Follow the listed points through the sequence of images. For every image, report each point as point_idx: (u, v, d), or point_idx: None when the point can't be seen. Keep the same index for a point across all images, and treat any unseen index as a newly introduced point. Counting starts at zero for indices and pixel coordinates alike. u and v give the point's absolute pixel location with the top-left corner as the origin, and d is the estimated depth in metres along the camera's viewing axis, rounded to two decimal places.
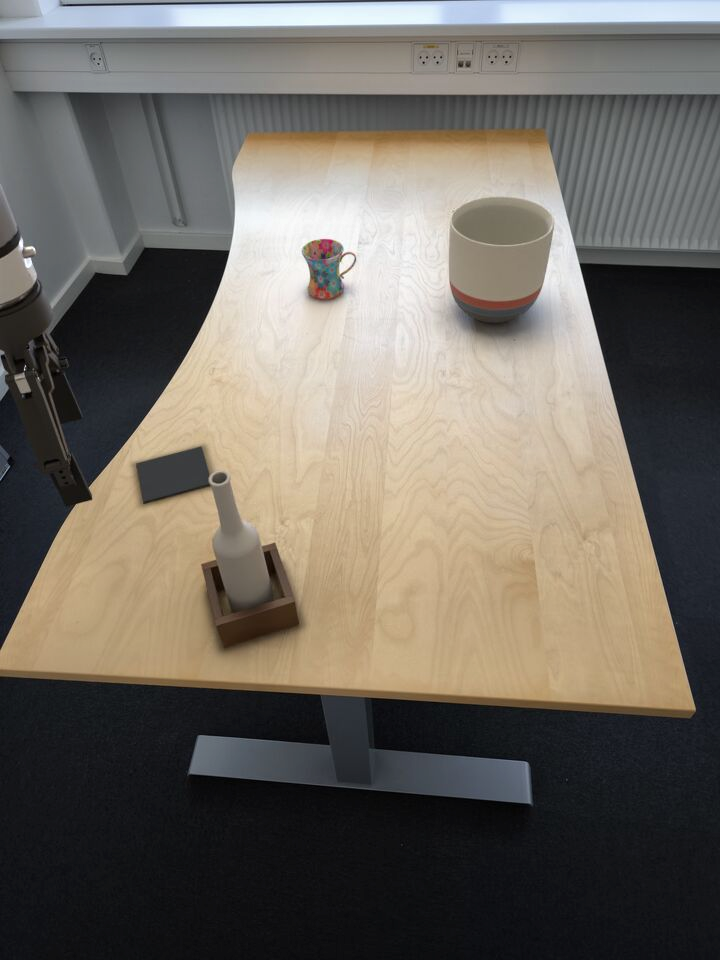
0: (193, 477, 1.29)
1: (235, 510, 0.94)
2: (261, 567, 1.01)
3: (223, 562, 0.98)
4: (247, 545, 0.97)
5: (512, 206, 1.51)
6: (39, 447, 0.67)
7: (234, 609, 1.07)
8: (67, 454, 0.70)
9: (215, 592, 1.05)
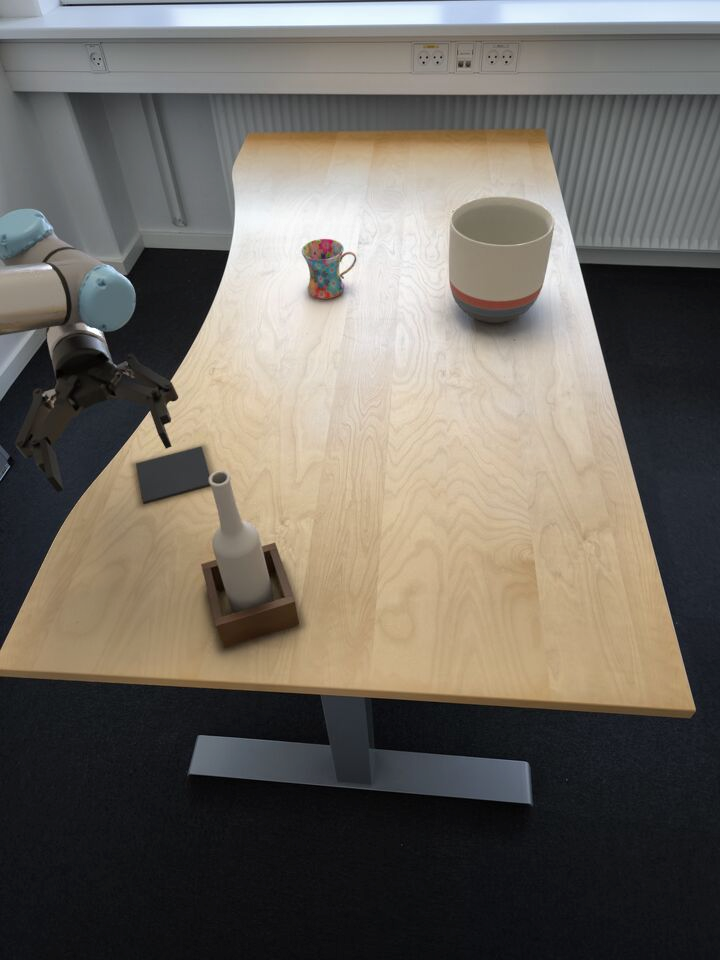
0: (193, 477, 1.29)
1: (235, 510, 0.94)
2: (261, 567, 1.01)
3: (223, 562, 0.98)
4: (247, 545, 0.97)
5: (512, 206, 1.52)
6: None
7: (234, 609, 1.07)
8: None
9: (215, 592, 1.05)
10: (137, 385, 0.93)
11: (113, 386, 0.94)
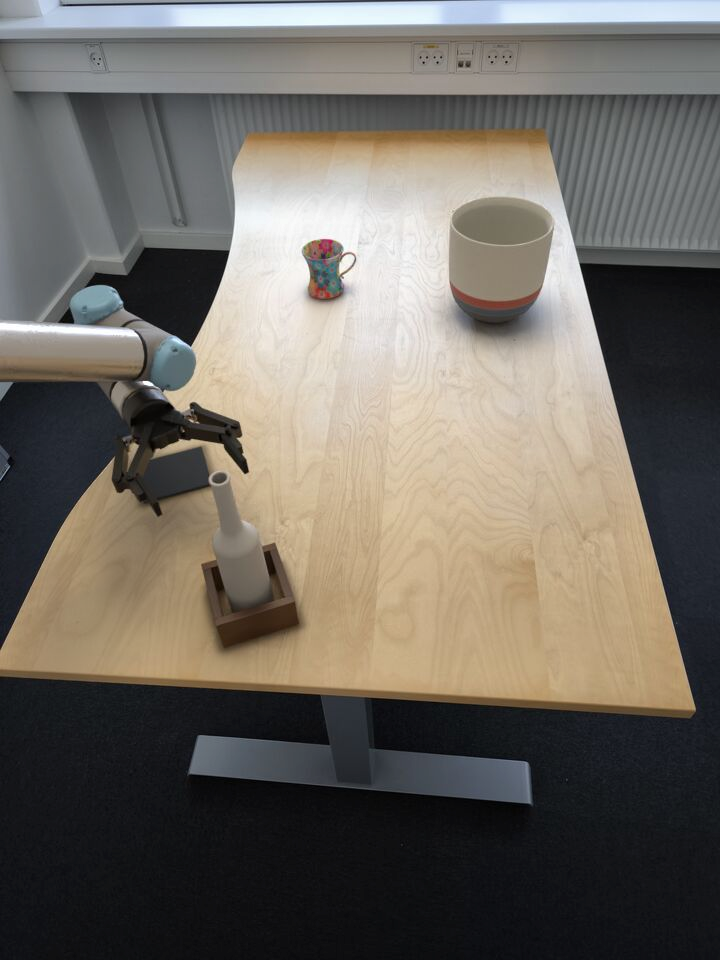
0: (193, 477, 1.29)
1: (235, 510, 0.94)
2: (261, 567, 1.01)
3: (223, 562, 0.98)
4: (247, 545, 0.97)
5: (512, 206, 1.52)
6: None
7: (234, 609, 1.07)
8: None
9: (215, 592, 1.05)
10: (208, 426, 1.10)
11: (186, 429, 1.10)
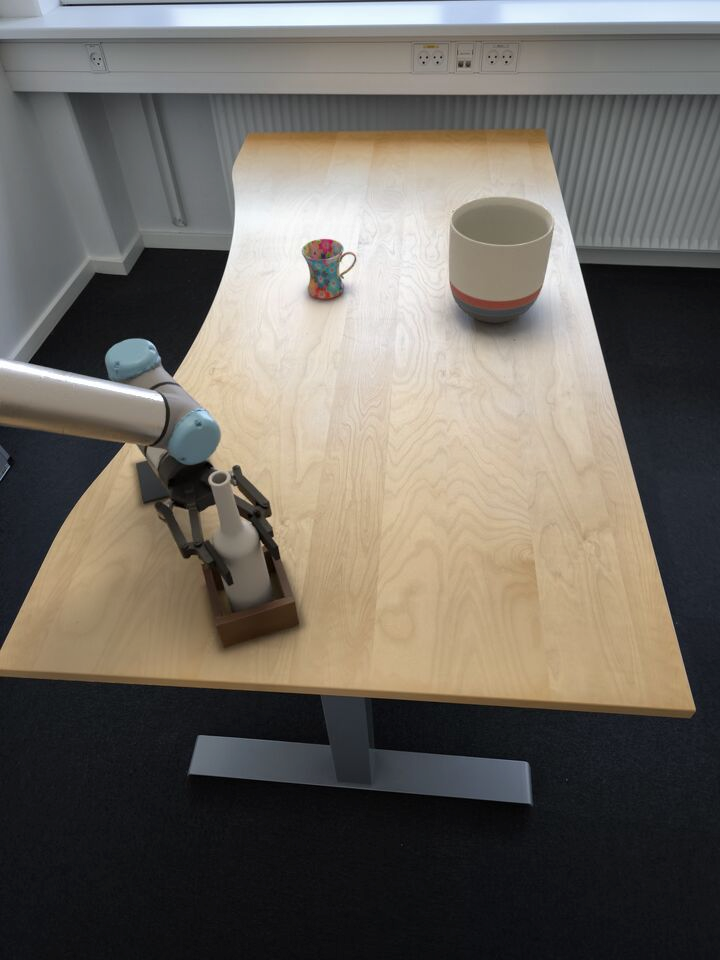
0: None
1: (235, 510, 0.94)
2: (261, 567, 1.01)
3: None
4: (247, 545, 0.97)
5: (512, 206, 1.52)
6: None
7: (234, 609, 1.07)
8: None
9: (215, 592, 1.05)
10: (241, 500, 1.03)
11: None
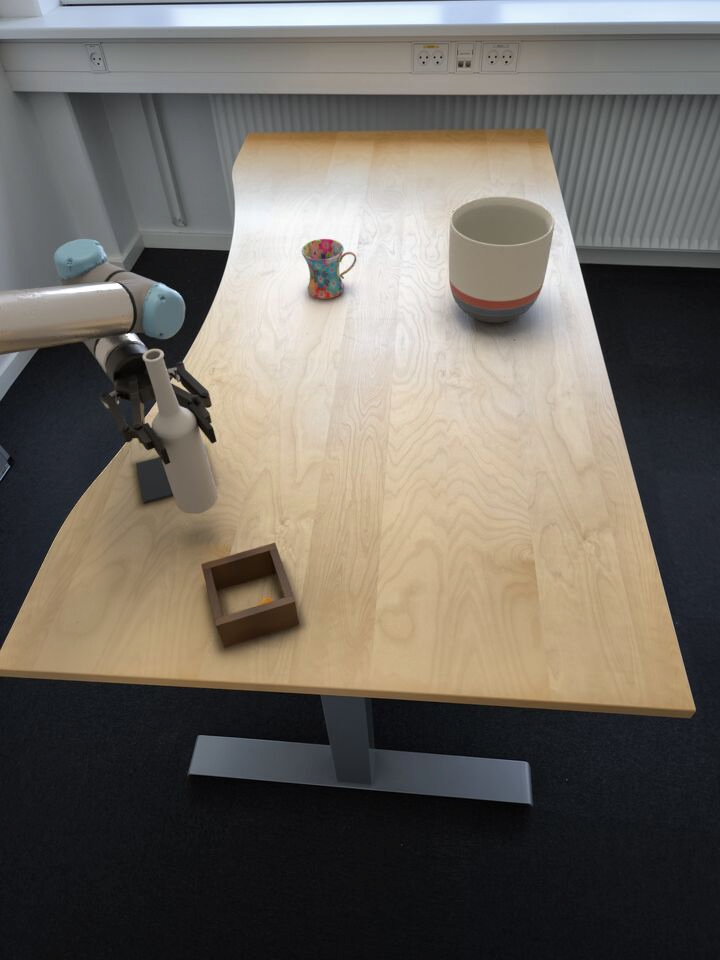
0: None
1: (170, 390, 0.99)
2: (200, 453, 1.06)
3: None
4: (184, 427, 1.02)
5: (512, 206, 1.52)
6: None
7: (177, 498, 1.12)
8: None
9: (215, 592, 1.05)
10: (182, 390, 1.08)
11: None
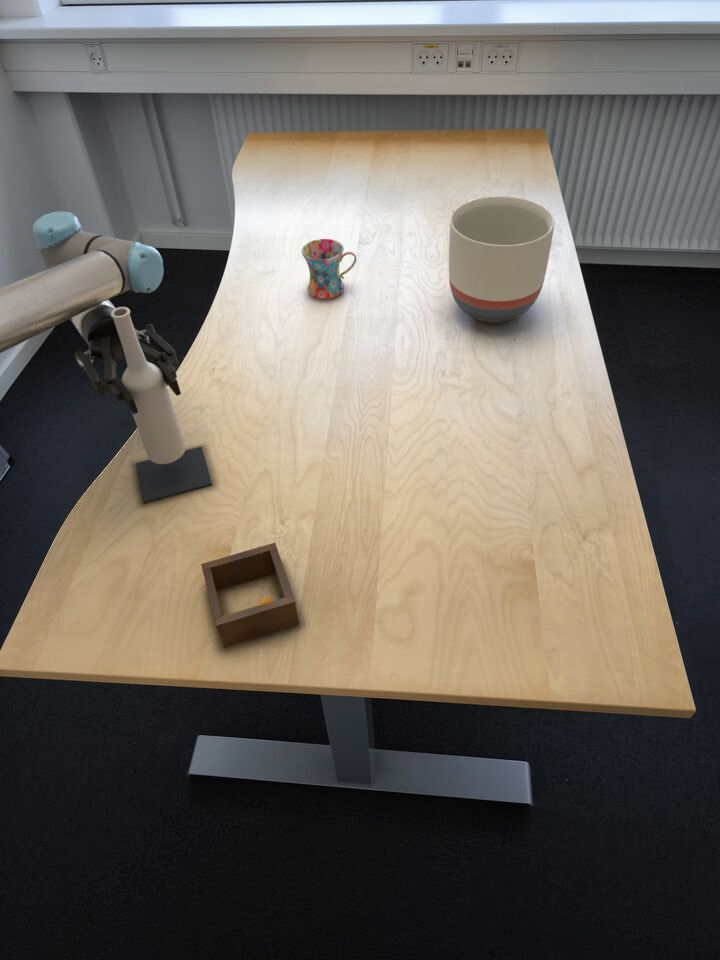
0: (193, 477, 1.29)
1: (137, 345, 1.09)
2: (167, 405, 1.17)
3: None
4: (150, 380, 1.12)
5: (512, 206, 1.52)
6: None
7: (147, 449, 1.22)
8: None
9: (215, 592, 1.05)
10: (150, 349, 1.18)
11: None
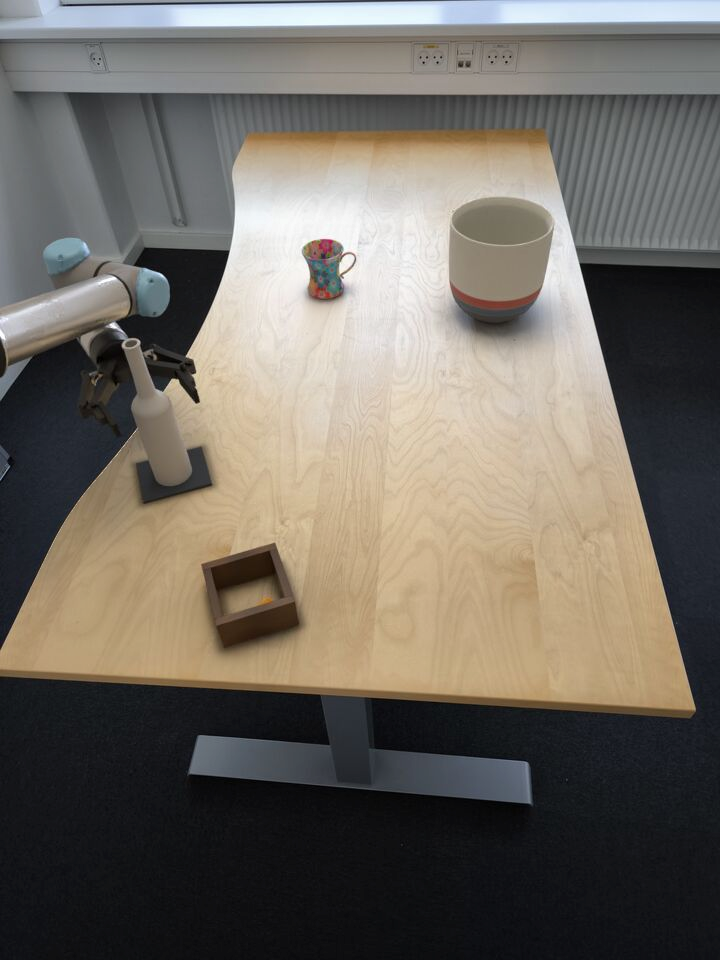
0: (193, 477, 1.29)
1: (147, 374, 1.13)
2: (174, 430, 1.21)
3: (140, 423, 1.17)
4: (159, 407, 1.16)
5: (512, 206, 1.52)
6: None
7: (155, 472, 1.26)
8: None
9: (215, 592, 1.05)
10: (165, 363, 1.23)
11: (146, 365, 1.24)
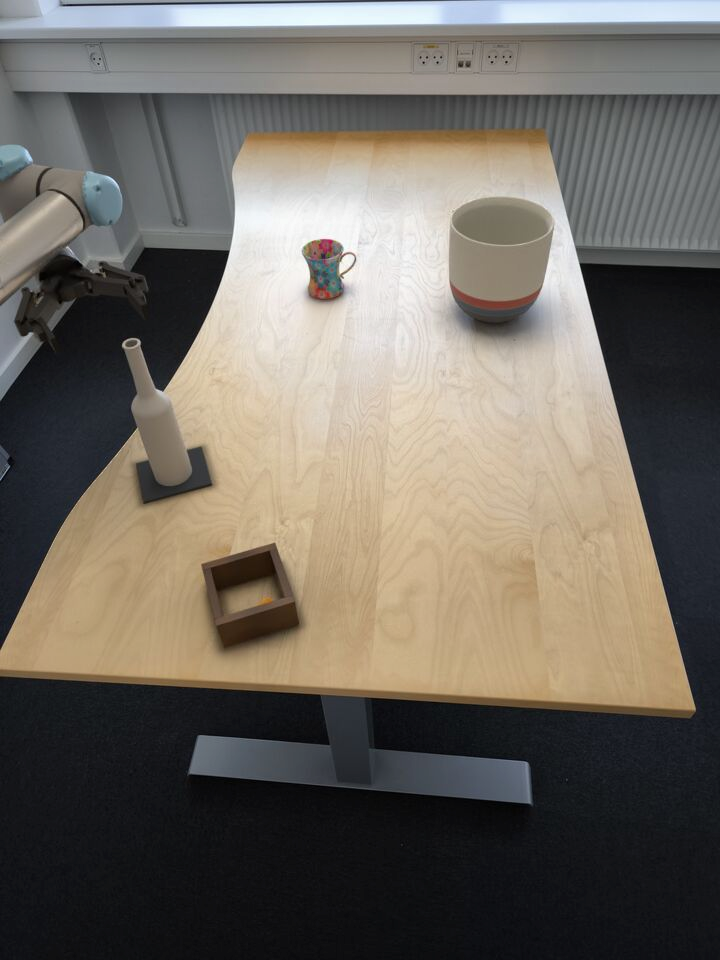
0: (193, 477, 1.29)
1: (147, 374, 1.13)
2: (175, 430, 1.21)
3: (140, 423, 1.17)
4: (159, 407, 1.16)
5: (512, 206, 1.52)
6: None
7: (155, 472, 1.26)
8: None
9: (215, 592, 1.05)
10: (114, 279, 1.13)
11: (92, 282, 1.14)
